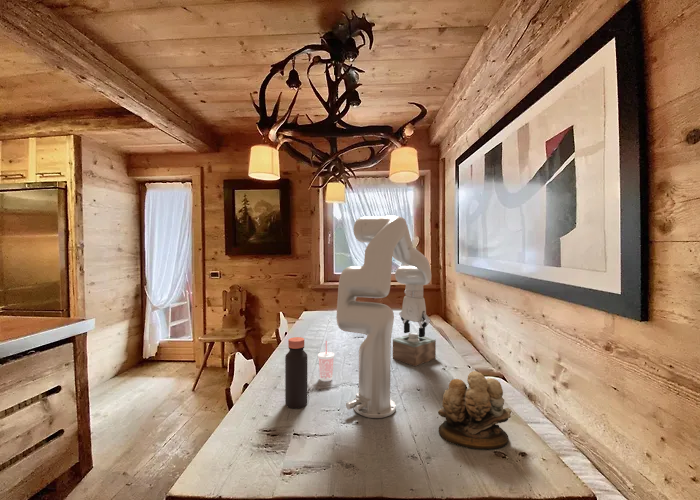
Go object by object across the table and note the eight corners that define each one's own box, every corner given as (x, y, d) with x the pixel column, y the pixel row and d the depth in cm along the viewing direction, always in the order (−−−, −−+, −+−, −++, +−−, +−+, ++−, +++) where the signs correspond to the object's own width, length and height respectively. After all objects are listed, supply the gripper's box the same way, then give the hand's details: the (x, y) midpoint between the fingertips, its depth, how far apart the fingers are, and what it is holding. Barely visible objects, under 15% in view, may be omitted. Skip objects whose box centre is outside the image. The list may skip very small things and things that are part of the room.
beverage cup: (314, 379, 119) (314, 341, 119) (324, 374, 125) (324, 337, 124) (328, 383, 116) (328, 344, 116) (337, 377, 122) (337, 339, 121)
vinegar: (311, 400, 103) (311, 337, 103) (300, 410, 97) (300, 343, 97) (292, 397, 106) (292, 335, 105) (281, 406, 99) (280, 341, 99)
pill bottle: (419, 354, 145) (417, 332, 145) (421, 358, 139) (420, 335, 139) (406, 354, 144) (405, 332, 145) (409, 358, 139) (408, 335, 139)
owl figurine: (502, 426, 89) (504, 363, 89) (520, 453, 78) (521, 382, 77) (435, 421, 91) (436, 360, 91) (442, 447, 80) (443, 378, 79)
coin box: (414, 366, 133) (414, 345, 133) (392, 358, 142) (392, 338, 142) (435, 358, 142) (435, 339, 142) (413, 351, 151) (414, 333, 151)
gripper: (393, 292, 146) (393, 331, 146) (425, 297, 133) (424, 340, 133) (404, 291, 151) (404, 329, 151) (436, 295, 137) (436, 337, 137)
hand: (414, 334), depth 142 cm, fingers open, 7 cm apart
